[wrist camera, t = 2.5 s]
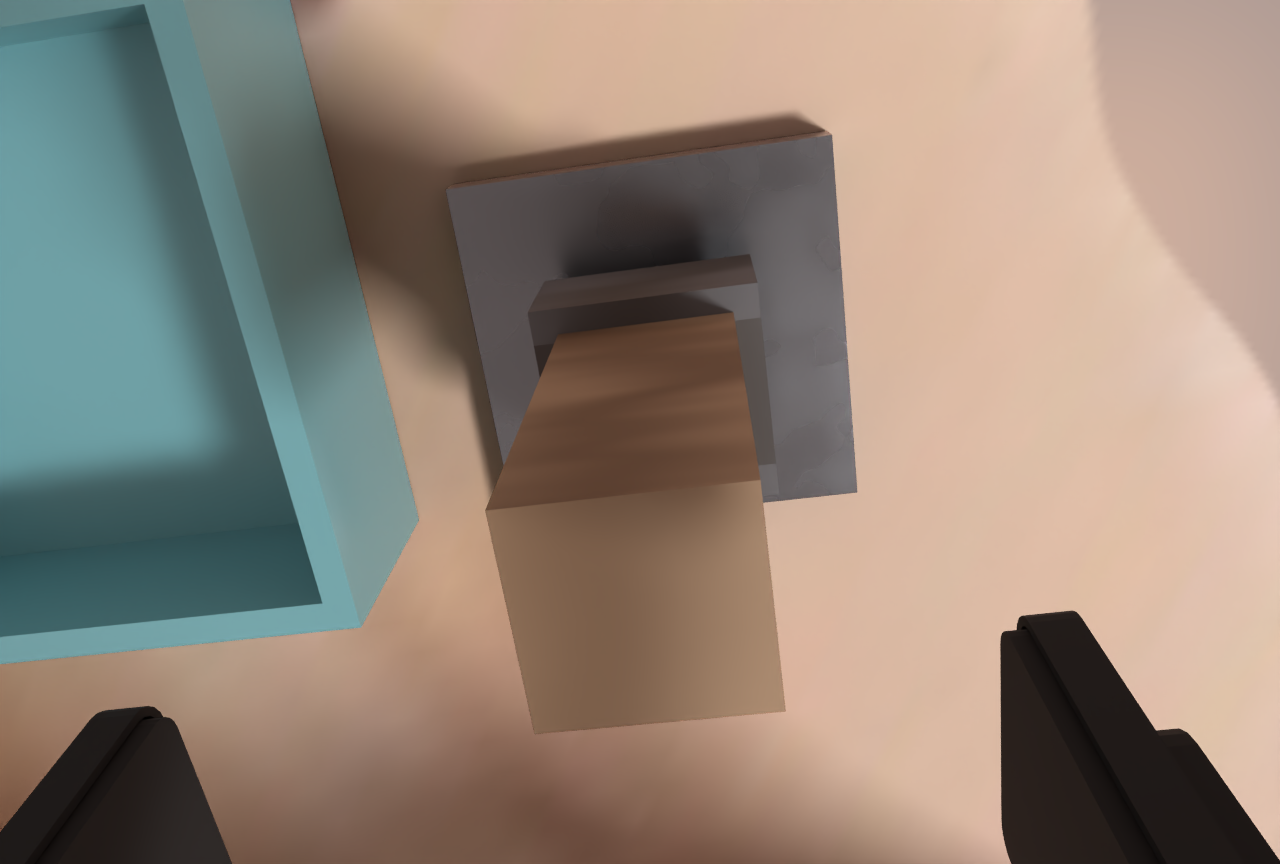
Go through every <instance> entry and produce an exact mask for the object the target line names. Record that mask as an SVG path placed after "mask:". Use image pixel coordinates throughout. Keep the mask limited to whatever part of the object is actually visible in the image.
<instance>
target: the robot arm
mask: <svg viewBox="0 0 1280 864" xmlns="http://www.w3.org/2000/svg"><path fill="white" fill-rule="evenodd" d="M1000 645H1001V810H1002V830H1003V836H1004V841H1005V845H1006V849H1007V853H1008V856H1009V859H1010V861H1011V864H1280V860H1279V859H1278V857H1277V856H1276V855H1275V853H1274V852H1273V850H1272V849H1271V848H1270V846H1269V845H1268V843H1267V842H1266V840H1265V839H1264V838H1263V836H1262V835H1261V833H1260V832H1259V830H1258V829H1257V828H1256V826H1255V825H1254V823H1253V822H1252V821H1251V819H1250V818H1249V816H1248V815H1247V813H1246V812H1245V811H1244V809H1243V808H1242V806H1241V805H1240V803H1239V802H1238V801H1237V799H1236V798H1235V796H1234V795H1233V794H1232V792H1231V791H1230V789H1229V788H1228V786H1227V785H1226V784H1225V782H1224V781H1223V779H1222V778H1221V777H1220V775H1219V774H1218V772H1217V771H1216V769H1215V768H1214V767H1213V765H1212V764H1211V762H1210V761H1209V759H1208V758H1207V757H1206V755H1205V754H1204V752H1203V751H1202V750H1201V748H1200V747H1199V745H1198V744H1197V743H1196V742H1195V740H1194V739H1193V738H1192V737H1191V736H1190V735H1189V734H1188V733H1187V732H1185V731H1183V730H1181V729H1169V730H1158V731H1156V730H1155V729H1154V727H1153V725H1152V724H1151V722H1150V721H1149V719H1148V718H1147V716H1146V715H1145V713H1144V712H1143V710H1142V709H1141V707H1140V706H1139V704H1138V703H1137V701H1136V700H1135V698H1134V697H1133V695H1132V694H1131V692H1130V691H1129V689H1128V688H1127V686H1126V685H1125V683H1124V682H1123V680H1122V679H1121V677H1120V676H1119V674H1118V672H1117V671H1116V669H1115V668H1114V666H1113V665H1112V663H1111V662H1110V660H1109V659H1108V657H1107V656H1106V654H1105V653H1104V651H1103V650H1102V648H1101V647H1100V645H1099V644H1098V642H1097V641H1096V639H1095V638H1094V636H1093V635H1092V633H1091V632H1090V630H1089V629H1088V627H1087V626H1086V624H1085V622H1084V621H1083V619H1082V618H1081V617H1080V616H1079V614H1078V613H1077V612H1075V611H1064V612H1055V613H1045V614H1035V615H1026V616H1021V617H1020V618H1019V620H1018V623H1017V630H1014V631H1004V632H1003V633H1002V635H1001V644H1000ZM0 864H232V862H231V860H230V857H229V855H228V852H227V850H226V847H225V845H224V842H223V840H222V837H221V835H220V832H219V830H218V827H217V825H216V822H215V820H214V817H213V815H212V812H211V810H210V807H209V805H208V802H207V800H206V797H205V795H204V792H203V790H202V787H201V785H200V782H199V780H198V777H197V775H196V772H195V770H194V767H193V765H192V762H191V760H190V757H189V755H188V752H187V750H186V747H185V745H184V742H183V740H182V737H181V735H180V732H179V730H178V727H177V725H176V724H175V722H174V721H173V720H172V719H171V718H167V717H163V716H162V714H161V712H160V711H158V710H157V709H156V708H155V707H150V706H145V707H135V708H125V709H116V710H106V711H102V712H99V713H97V714H96V715H95V716H94V717H93V718H92V719H91V720H90V721H89V722H88V723H87V725H86V726H85V727H84V728H83V730H82V731H81V732H80V733H79V735H78V736H77V737H76V738H75V740H74V741H73V742H72V743H71V745H70V746H69V747H68V748H67V750H66V751H65V752H64V753H63V754H62V756H61V757H60V758H59V759H58V761H57V762H56V763H55V764H54V766H53V767H52V768H51V769H50V771H49V772H48V773H47V774H46V776H45V777H44V778H43V779H42V781H41V782H40V783H39V784H38V786H37V787H36V788H35V789H34V791H33V792H32V793H31V794H30V796H29V797H28V798H27V799H26V801H25V802H24V803H23V804H22V806H21V807H20V808H19V809H18V811H17V812H16V813H15V814H14V816H13V817H12V818H11V819H10V821H9V822H8V823H7V824H6V826H5V827H4V828H3V829H2V831H1V832H0Z"/></svg>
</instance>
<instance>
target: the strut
mask: <svg viewBox="0 0 1280 864" xmlns="http://www.w3.org/2000/svg"><path fill="white" fill-rule="evenodd" d="M527 313H528V318H529V324H530V329H531V334H532V339H533V345H534V350H535V355H536V361H537V366H538V371H539V376H540V379H539V382H538V384H537V387H536V389H535V391H534V394H533V396H532V399H531V401H530V404H529V406H528V408H527V411H526V413H525V416H524V418H523V420H522V423H521V425H520V428H519V430H518V433H517V435H516V437H515V440H514V442H513V445H512V447H511V450H510V452H509V454H508V457H507V459H506V462H505V464H504V466H503V469H502V471H501V474H500V476H499V479H498V481H497V483H496V486H495V488H494V491H493V493H492V496H491V498H490V500H489V503H488V505H487V508H486V510H485V512H486V516H487V521H488V525H489V530H490V534H491V539H492V543H493V548H494V552H495V557H496V561H497V566H498V570H499V575H500V580H501V584H502V589H503V593H504V598H505V602H506V607H507V611H508V616H509V620H510V625H511V629H512V634H513V638H514V643H515V647H516V652H517V656H518V661H519V666H520V670H521V675H522V679H523V684H524V688H525V693H526V697H527V702H528V706H529V711H530V715H531V720H532V724H533V729H534V733H535V734H541V733H552V732H563V731H575V730H586V729H597V728H608V727H619V726H630V725H641V724H652V723H663V722H674V721H686V720H697V719H708V718H719V717H730V716H741V715H752V714H763V713H774V712H785V711H786V710H785V700H784V691H783V682H782V673H781V664H780V655H779V645H778V636H777V627H776V618H775V609H774V599H773V590H772V581H771V572H770V563H769V554H768V544H767V535H766V526H765V517H764V508H763V498H762V496H764V495H773V494H779V488H778V478H777V468H776V458H775V449H774V439H773V429H772V419H771V409H770V400H769V390H768V380H767V370H766V360H765V351H764V341H763V331H762V321H761V311H760V302H759V292H758V282H757V279H756V275H755V271H754V268H753V264H752V260H751V257H750V254H746V255H738V256H731V257H723V258H716V259H708V260H700V261H693V262H685V263H678V264H670V265H663V266H655V267H647V268H640V269H632V270H625V271H617V272H610V273H602V274H594V275H587V276H579V277H572V278H564V279H556V280H549V281H544V283H543V285H542V287H541V289H540V290H539V292H538V294H537V296H536V298H535V299H534V301H533V303H532V305H531V307H530V309H529V310H528V312H527Z"/></svg>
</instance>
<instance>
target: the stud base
mask: <svg viewBox="0 0 1280 864" xmlns="http://www.w3.org/2000/svg"><path fill="white" fill-rule="evenodd" d="M446 194H447V199H448V204H449V208H450V213H451V218H452V223H453V228H454V232H455V237H456V242H457V247H458V251H459V256H460V261H461V266H462V270H463V275H464V280H465V285H466V289H467V294H468V299H469V304H470V309H471V313H472V318H473V323H474V328H475V332H476V337H477V342H478V347H479V351H480V356H481V361H482V366H483V370H484V375H485V380H486V385H487V390H488V394H489V399H490V404H491V409H492V413H493V418H494V423H495V428H496V432H497V437H498V442H499V447H500V451H501V456H502V461H503V466H504V464H505V462H506V459H507V457H508V454H509V452H510V450H511V447H512V445H513V442H514V440H515V437H516V435H517V433H518V430H519V428H520V425H521V423H522V420H523V418H524V416H525V413H526V411H527V408H528V406H529V404H530V401H531V399H532V396H533V394H534V391H535V389H536V387H537V384H538V382H539V379H540V376H539V371H538V366H537V361H536V355H535V350H534V345H533V339H532V334H531V329H530V324H529V318H528V313H527V312H528V310H529V309H530V307H531V305H532V303H533V301H534V299H535V298H536V296H537V294H538V292H539V290H540V289H541V287H542V285H543V283H544V281H549V280H556V279H564V278H572V277H579V276H587V275H594V274H602V273H610V272H617V271H625V270H632V269H640V268H647V267H655V266H663V265H670V264H678V263H685V262H693V261H700V260H708V259H716V258H723V257H731V256H738V255H746V254H750V257H751V260H752V264H753V268H754V271H755V275H756V279H757V282H758V292H759V302H760V311H761V321H762V331H763V341H764V351H765V360H766V370H767V380H768V390H769V400H770V409H771V419H772V429H773V439H774V449H775V458H776V468H777V478H778V488H779V494H773V495H764V496H762V498H763V503H764V502H774V501H783V500H792V499H801V498H810V497H819V496H829V495H838V494H847V493H856V492H857V482H856V468H855V453H854V439H853V425H852V411H851V397H850V383H849V369H848V355H847V341H846V326H845V312H844V298H843V284H842V270H841V256H840V242H839V228H838V213H837V199H836V185H835V171H834V157H833V143H832V135H831V134H830V133H829V132H828V131H823V132H816V133H809V134H802V135H795V136H788V137H781V138H774V139H767V140H760V141H753V142H745V143H738V144H731V145H724V146H717V147H710V148H703V149H696V150H689V151H682V152H675V153H668V154H661V155H654V156H647V157H640V158H633V159H626V160H619V161H612V162H605V163H598V164H591V165H584V166H577V167H570V168H563V169H556V170H548V171H541V172H534V173H527V174H520V175H513V176H506V177H499V178H492V179H485V180H478V181H471V182H464V183H457V184H453V185H452V186H450V187H449V188H447V189H446Z"/></svg>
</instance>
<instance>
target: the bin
mask: <svg viewBox="0 0 1280 864" xmlns="http://www.w3.org/2000/svg"><path fill="white" fill-rule="evenodd" d="M418 521H419V518H418V514H417V510H416V506H415V502H414V498H413V494H412V490H411V486H410V482H409V478H408V474H407V470H406V466H405V462H404V457H403V453H402V449H401V445H400V441H399V437H398V433H397V429H396V425H395V421H394V417H393V413H392V409H391V405H390V401H389V397H388V393H387V389H386V385H385V381H384V377H383V373H382V369H381V365H380V361H379V357H378V353H377V349H376V345H375V341H374V337H373V333H372V329H371V325H370V321H369V317H368V313H367V309H366V305H365V301H364V297H363V293H362V288H361V284H360V280H359V276H358V272H357V268H356V264H355V260H354V256H353V252H352V248H351V244H350V240H349V236H348V232H347V228H346V224H345V220H344V216H343V212H342V208H341V204H340V200H339V196H338V192H337V188H336V184H335V180H334V176H333V172H332V168H331V164H330V160H329V156H328V152H327V148H326V144H325V140H324V136H323V132H322V128H321V124H320V119H319V115H318V111H317V107H316V103H315V99H314V95H313V91H312V87H311V83H310V79H309V75H308V71H307V67H306V63H305V59H304V55H303V51H302V47H301V43H300V39H299V35H298V31H297V27H296V23H295V19H294V15H293V11H292V7H291V3H290V0H0V664H7V663H17V662H26V661H36V660H46V659H56V658H66V657H76V656H85V655H95V654H105V653H115V652H125V651H135V650H144V649H154V648H164V647H174V646H184V645H194V644H204V643H213V642H223V641H233V640H243V639H253V638H263V637H272V636H282V635H292V634H302V633H312V632H322V631H331V630H341V629H351V628H361V627H362V625H363V623H364V621H365V619H366V617H367V616H368V614H369V612H370V610H371V608H372V606H373V604H374V603H375V601H376V599H377V597H378V595H379V593H380V591H381V590H382V588H383V586H384V584H385V582H386V580H387V578H388V577H389V575H390V573H391V571H392V569H393V567H394V565H395V564H396V562H397V560H398V558H399V556H400V554H401V552H402V551H403V549H404V547H405V545H406V543H407V541H408V539H409V538H410V536H411V534H412V532H413V530H414V528H415V526H416V525H417V523H418Z"/></svg>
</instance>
